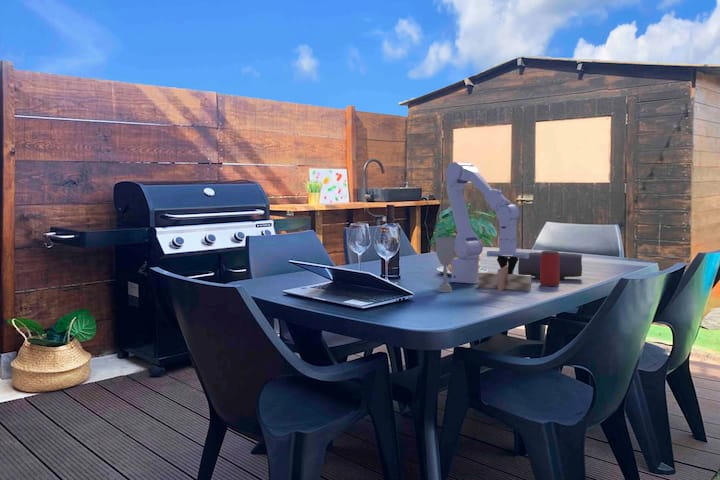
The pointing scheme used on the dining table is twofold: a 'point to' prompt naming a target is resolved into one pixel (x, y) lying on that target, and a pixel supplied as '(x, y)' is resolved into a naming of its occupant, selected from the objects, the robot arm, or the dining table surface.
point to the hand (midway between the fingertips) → (507, 278)
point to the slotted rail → (513, 281)
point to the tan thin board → (502, 277)
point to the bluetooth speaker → (568, 265)
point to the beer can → (549, 268)
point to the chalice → (445, 258)
